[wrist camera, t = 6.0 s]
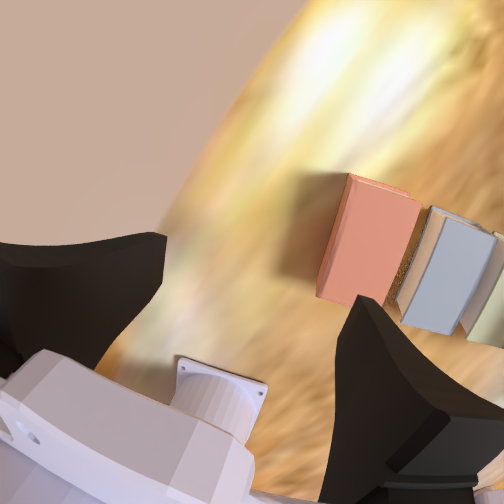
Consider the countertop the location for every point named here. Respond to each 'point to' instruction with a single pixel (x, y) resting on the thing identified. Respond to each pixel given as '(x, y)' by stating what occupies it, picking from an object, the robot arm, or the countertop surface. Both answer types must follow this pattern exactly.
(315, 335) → the countertop surface
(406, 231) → the terracotta book
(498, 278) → the sage book
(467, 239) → the slate book
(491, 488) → the house plant
